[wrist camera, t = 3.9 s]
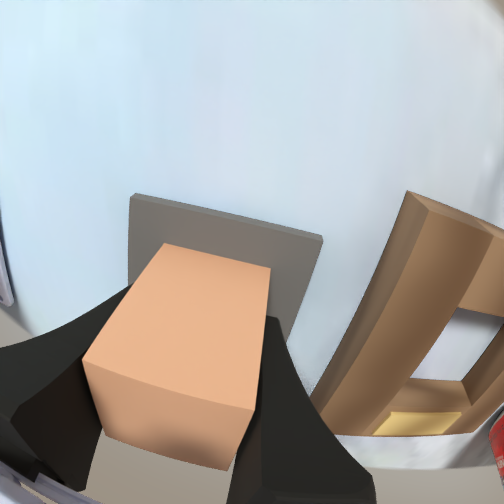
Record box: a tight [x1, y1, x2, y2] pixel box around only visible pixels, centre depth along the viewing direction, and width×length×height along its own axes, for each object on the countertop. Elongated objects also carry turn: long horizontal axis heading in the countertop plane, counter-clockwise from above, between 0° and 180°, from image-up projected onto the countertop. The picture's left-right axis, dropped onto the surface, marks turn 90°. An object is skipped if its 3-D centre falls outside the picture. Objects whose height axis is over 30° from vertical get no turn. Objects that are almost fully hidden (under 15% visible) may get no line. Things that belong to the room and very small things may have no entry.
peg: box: [82, 243, 271, 471], centre depth 10 cm, size 4×4×6 cm
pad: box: [128, 193, 323, 343], centre depth 13 cm, size 7×7×1 cm
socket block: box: [309, 190, 504, 437], centre depth 12 cm, size 12×12×2 cm
